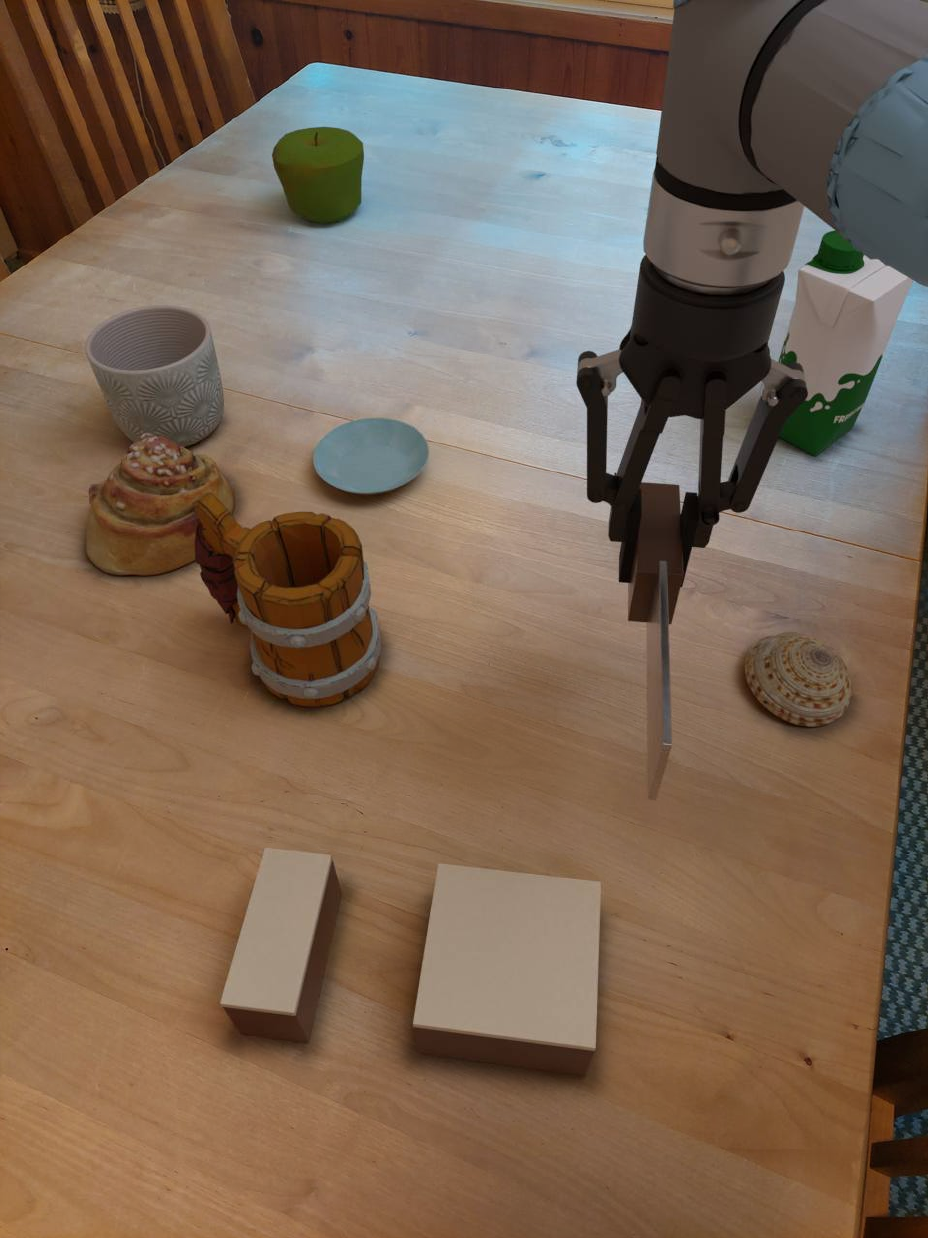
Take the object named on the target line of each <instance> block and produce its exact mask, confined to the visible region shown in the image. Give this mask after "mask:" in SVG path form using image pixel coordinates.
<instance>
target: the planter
mask: <svg viewBox="0 0 928 1238" xmlns="http://www.w3.org/2000/svg"><path fill="white" fill-rule="evenodd" d="M84 352H85V353H84V354H85V356H86V358H87V360H88V363H89V365H90V367H91V370H92V372H93V375H94V377H95V380H96V382H97V384H98V386H99V389H100V391H101V393H102V396H103V398H104V401H105V402H106V405H107V407H108V410H109V411H110V412H111V413H110V414H111V415H112V417H113V419H114V421H115V423H116V424H117V426H118V427H119V429H120V430H121V432H122V433H123V434H124V435H125V436H126V438H129V440H130V441H132V442H133V443H135V442H137V441H139V440H140V438H141V436H142V435H143V434H144V433H149V434H152V435H154V436H164V437H166V438H168V439H169V440H171V441H174V442H175V443H176V444H178V445H179V446H182V447H184V448H186V447H188V446H192V445H195V444H196V443H199V442H200V441H202V440H204V439H205V438H207V437H208V436H209V435H211V434H212V433H213V432H214V431H215V429H216V428H217V427H218V426H219V424H220V423H221V421H222V418H223V415H224V409H225V397H224V396H225V395H224V388H223V382H222V376H221V371H220V367H219V366H220V365H219V361H218V357H217V352H216V347H215V344H214V338H213V335H212V328H211V325H210V323H209V321H208V320H207V319H206V318H205V317H204V316H203V315H202V314H200V313H199V312H197V311H195V310H192V309H190V308H186V307H182V306H178V305H170V304H169V305H168V304H167V305H166V304H159V305H158V304H157V305H155V304H154V305H147V306H141V307H135V308H132V309H129V310H125V311H122V312H120V313H116V314H115V315H113V316H111V317H109V318H107V319H105V320H104V321H102V322H101V323H100V324H98V325H97V326H96V327H95V328H94V329H92V331H91V332H90V334H89V335H88V336H87V338H86V341H85V343H84Z"/></svg>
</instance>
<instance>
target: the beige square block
mask: <svg viewBox="0 0 928 1238" xmlns="http://www.w3.org/2000/svg"><path fill="white" fill-rule="evenodd" d="M601 896H602V882H601V881H597V880H589V879H588V880H587V879H579V878H578V879H577V878H570V877H563V876H552V875H544V874H537V873H536V874H535V873H526V872H519V871H509V870H501V869H492V868H485V867H484V868H483V867H474V866H467V865H466V866H465V865H459V864H449V863H441V862H438V863H437V868H436V875H435V880H434V887H433V894H432V900H431V906H430V912H429V919H428V925H427V931H426V937H425V943H424V948H423V949H424V951H423V956H422V962H421V969H420V973H419V982H418V988H417V994H416V999H415V1006H414V1012H413V1019H412V1027H413V1031H414V1037H415V1041H416V1046H417V1052H418V1054H421V1055H429V1056H435V1057H443V1058H451V1059H455V1060H456V1059H457V1060H464V1061H472V1062H480V1063H486V1064H494V1065H501V1066H509V1067H515V1068H516V1067H517V1068H523V1069H531V1070H539V1071H546V1072H553V1073H561V1074H566V1075H567V1074H568V1075H576V1076H582V1077H587V1075H588V1072H589V1069H590V1066H591V1063H592V1060H593V1057H594V1054H595V1052H596V1049H597V1021H598V990H599V961H600V960H599V958H600V931H601V929H600V928H601V898H602V897H601Z"/></svg>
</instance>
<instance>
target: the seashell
mask: <svg viewBox="0 0 928 1238" xmlns="http://www.w3.org/2000/svg"><path fill="white" fill-rule="evenodd" d="M847 667H848V666H847V665H846V663H845V662H844V660H843V658H842V657H841V656H840V655H839V653H837V652H836V650H835V649H834V648H832V647H831V646H830V645H828V644H827V643H826V642H824V641H822V640H820V639H817V638H815V637H812V636H811V635H807V634H805V633H801V632H796V631H785V632H784V631H783V632H781V633H777V634H773V635H767V636H764V637H761V638H759V639H758V640H757V641H755V642H754V644H753V645H751V646H750V648H749V650H748V652H747V654H746V658H745V660H744V673H745V679H746V681H747V684H748V686H749V689H750V691H751V693H753V694H752V695H754V697H755V698H756V699H757V700H758V702H759V703H760V704H761V705H762V706H763V707H764V708H766V709H767V710H768V711H769V712H770V713H772V714H773V715H775V716H776V717H778V718H780V719H781V720H783V721H785V722H788V723H790V724H793V725H796V726H802V727H807V728H808V727H809V728H811V727H812V728H813V727H814V728H815V727H822V726H826V725H829V724H831V723H833V722H836V721H837V720H838V719H840V718H841V717H842V716H843V715H844V714H845V712H846V711H847V708H848V707H849V704H850V702H851V698H852V689H853V687H852V680H851V674H850V672H849V670H848V668H847Z"/></svg>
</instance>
